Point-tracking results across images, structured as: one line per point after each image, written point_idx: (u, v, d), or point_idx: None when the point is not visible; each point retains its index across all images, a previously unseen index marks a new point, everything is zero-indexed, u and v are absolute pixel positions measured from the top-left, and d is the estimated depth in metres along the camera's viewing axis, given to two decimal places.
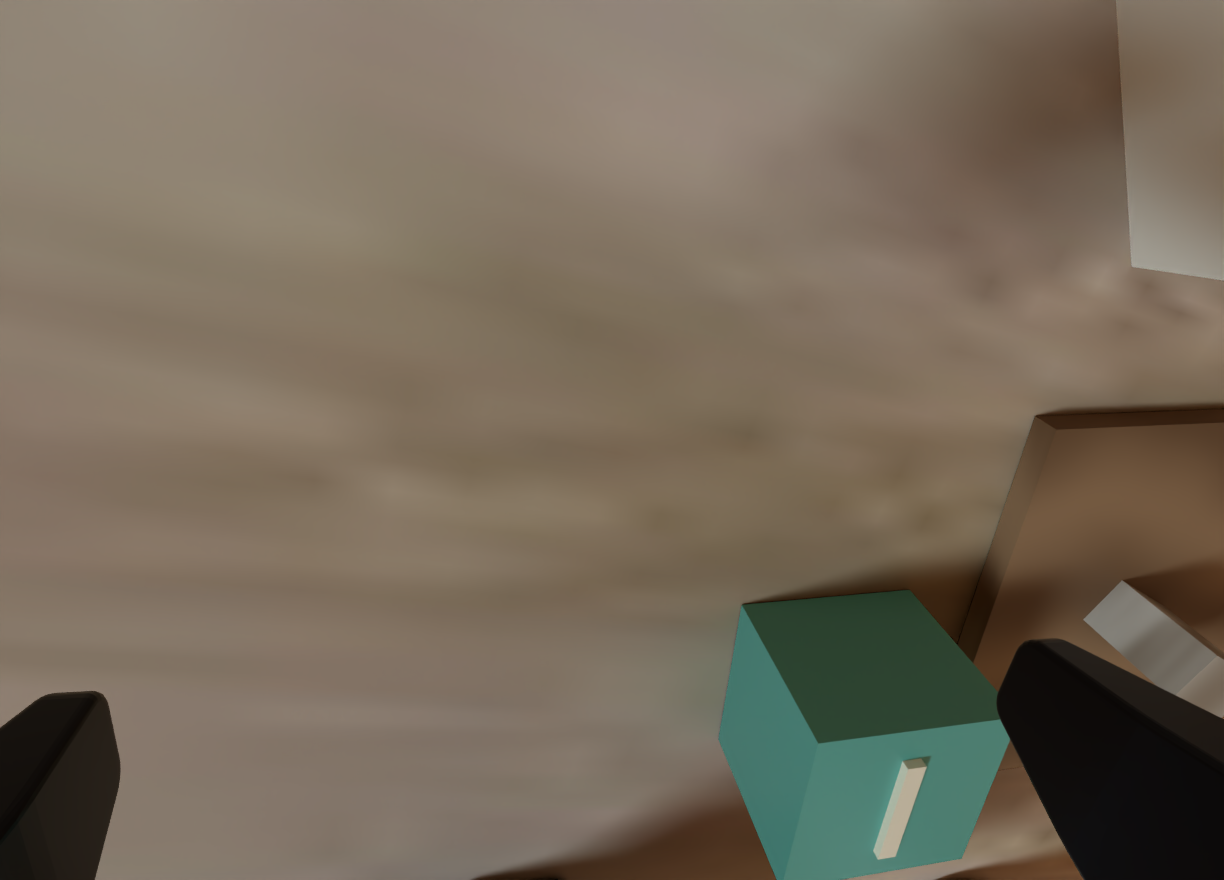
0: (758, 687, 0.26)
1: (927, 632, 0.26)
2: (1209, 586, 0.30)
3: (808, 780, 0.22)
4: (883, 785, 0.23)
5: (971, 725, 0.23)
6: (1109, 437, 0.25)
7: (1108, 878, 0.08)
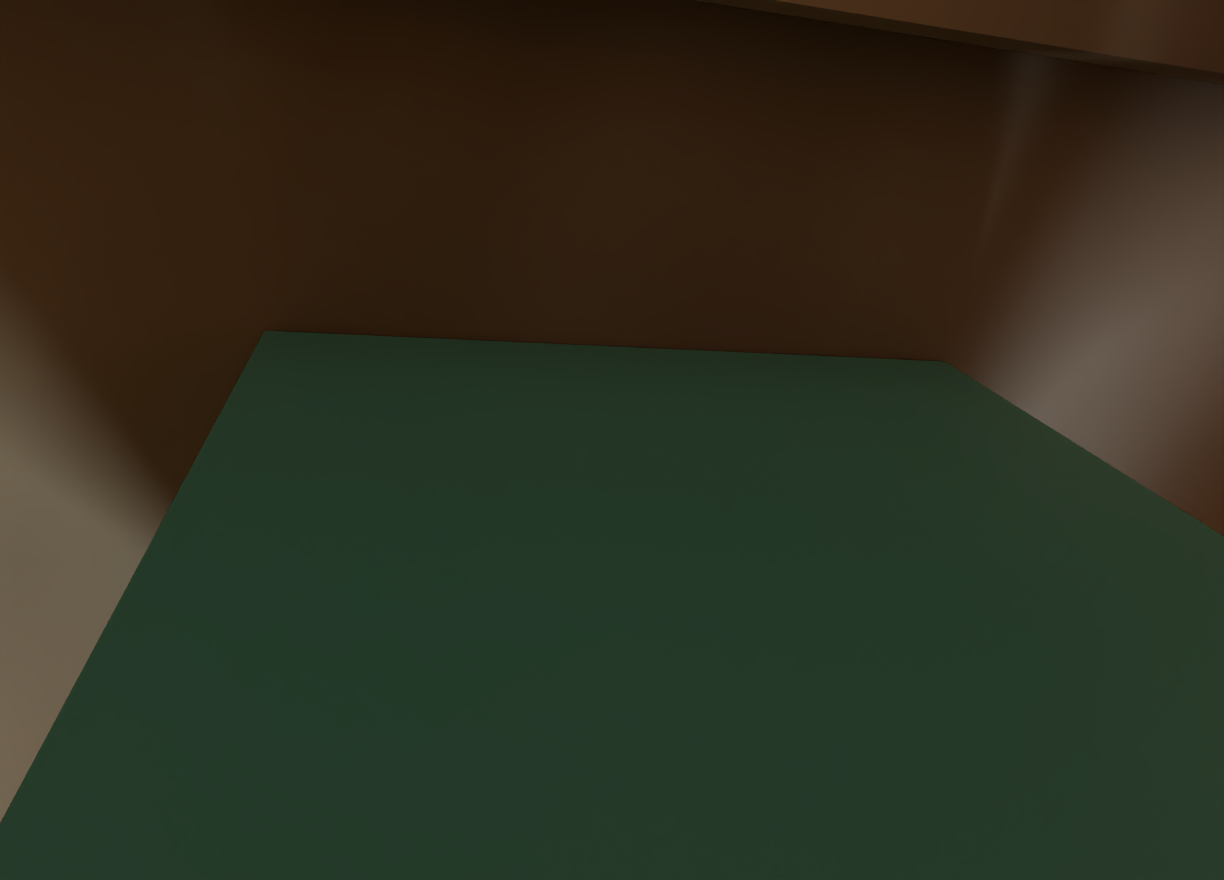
0: None
1: None
2: None
3: None
4: None
5: None
6: None
7: None
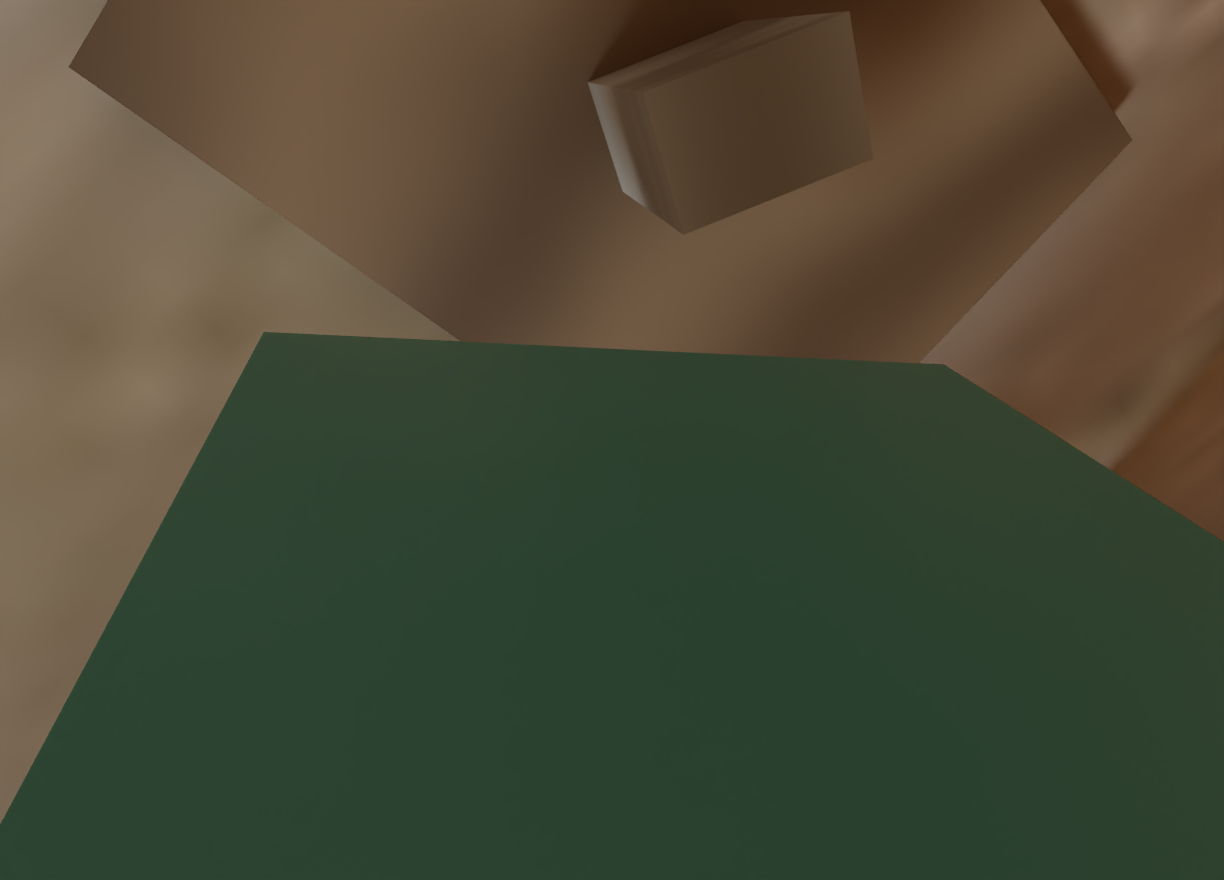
0: None
1: None
2: None
3: None
4: None
5: None
6: None
7: None
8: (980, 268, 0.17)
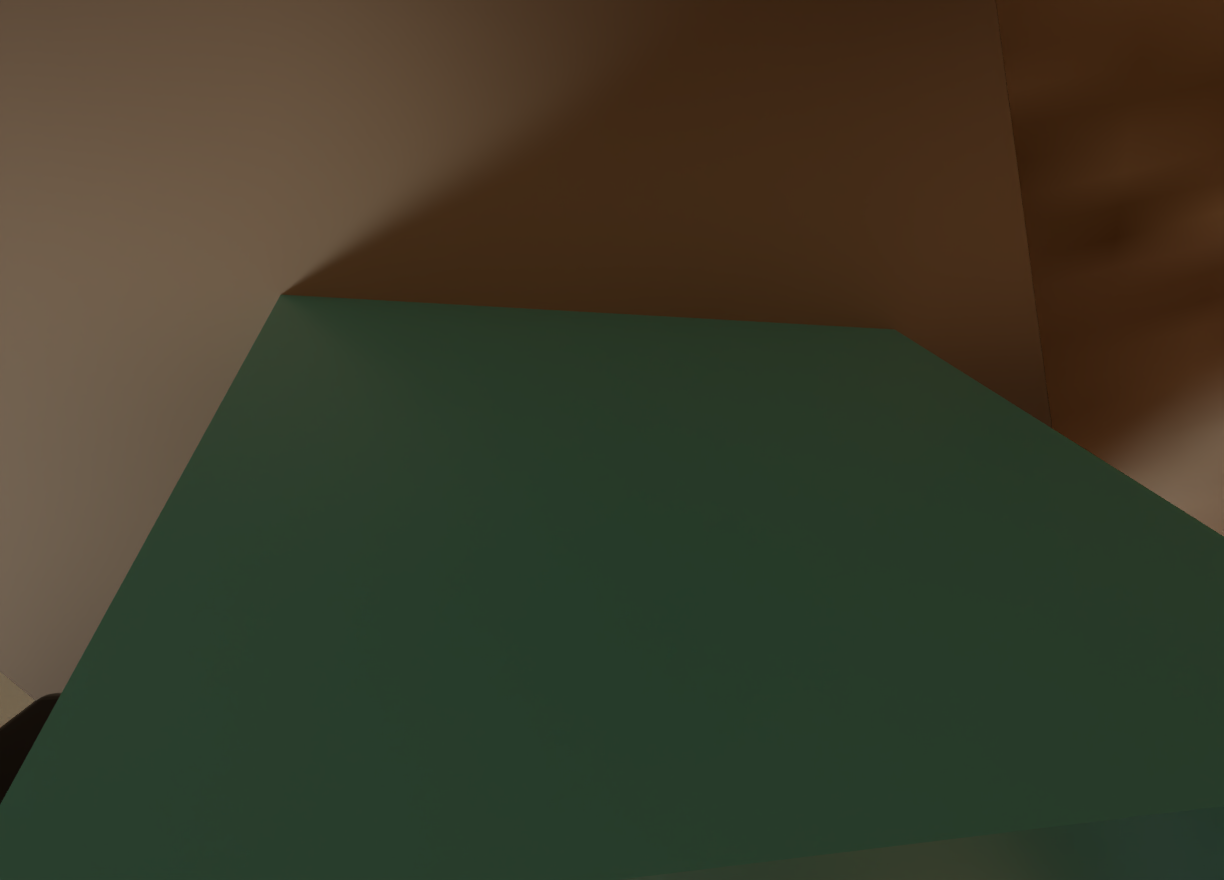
0: None
1: None
2: None
3: None
4: None
5: None
6: None
7: None
8: None
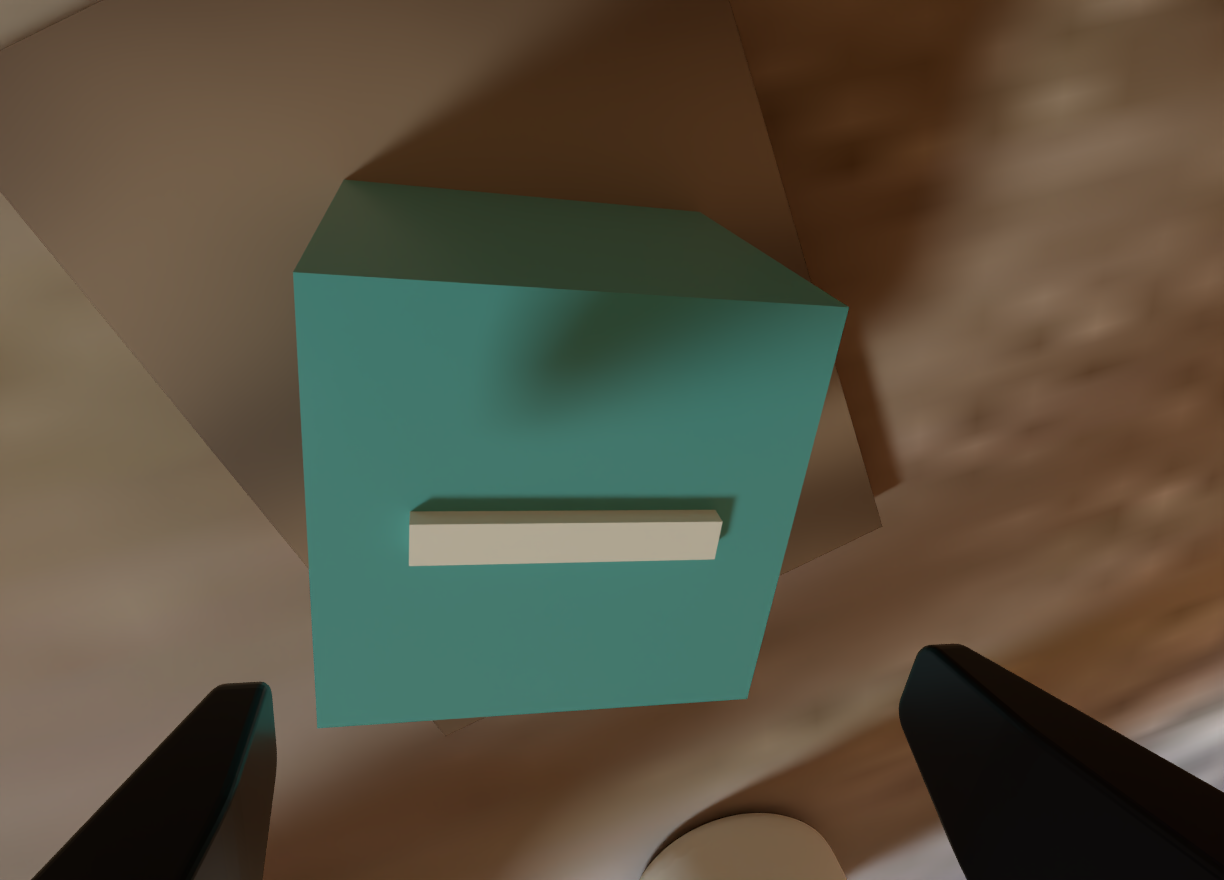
0: None
1: None
2: None
3: (427, 719, 0.11)
4: (484, 574, 0.10)
5: (308, 411, 0.09)
6: (66, 52, 0.12)
7: None
8: None
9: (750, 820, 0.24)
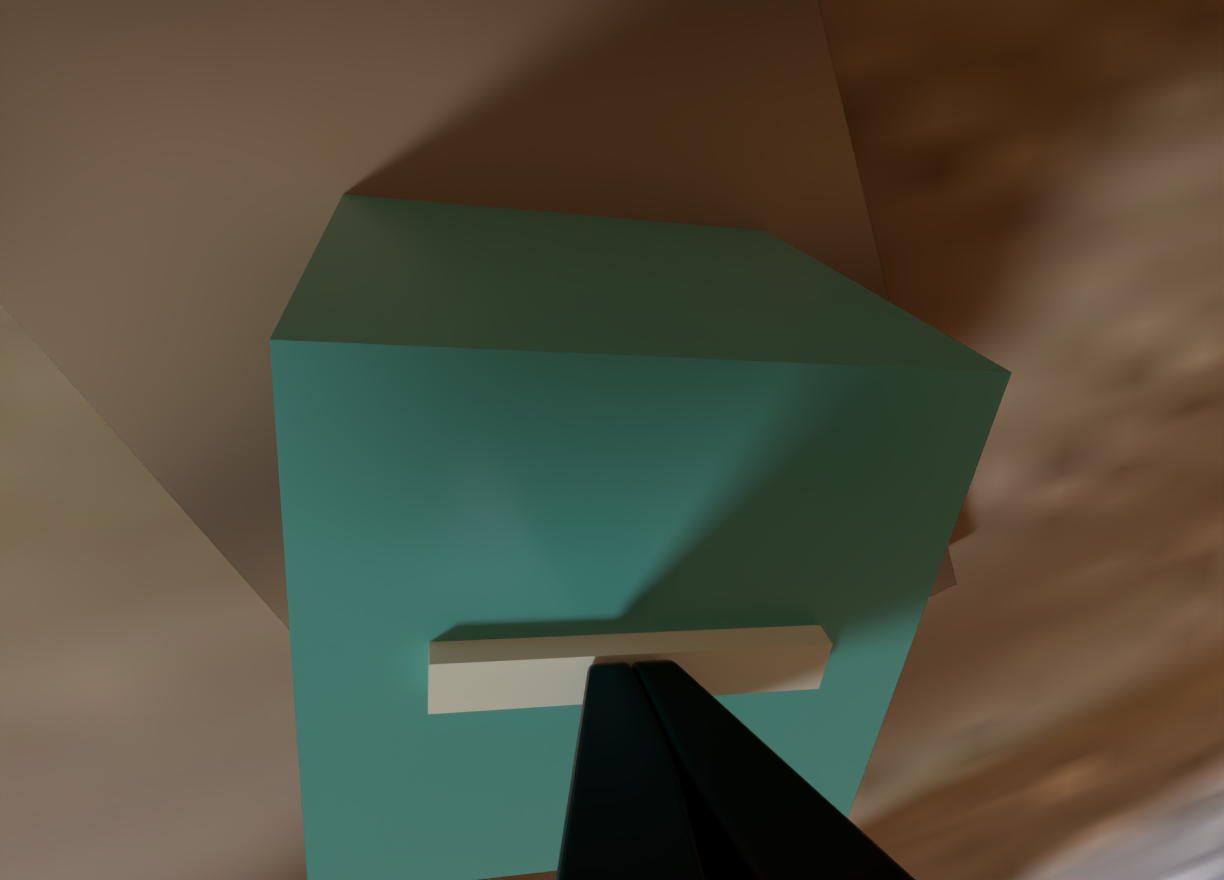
0: None
1: None
2: None
3: None
4: (524, 713, 0.08)
5: (293, 522, 0.06)
6: None
7: None
8: None
9: None
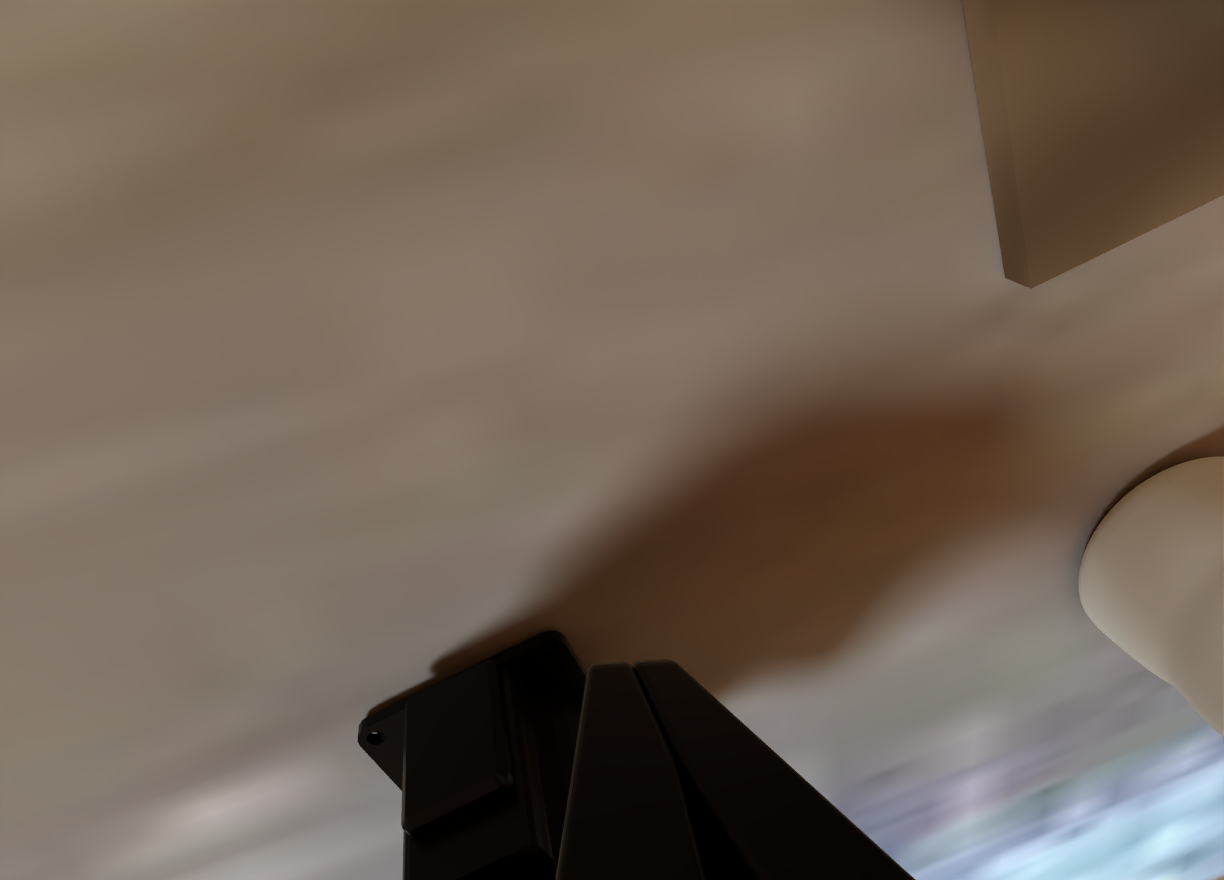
0: None
1: None
2: None
3: None
4: None
5: None
6: None
7: None
8: None
9: (1222, 457, 0.24)
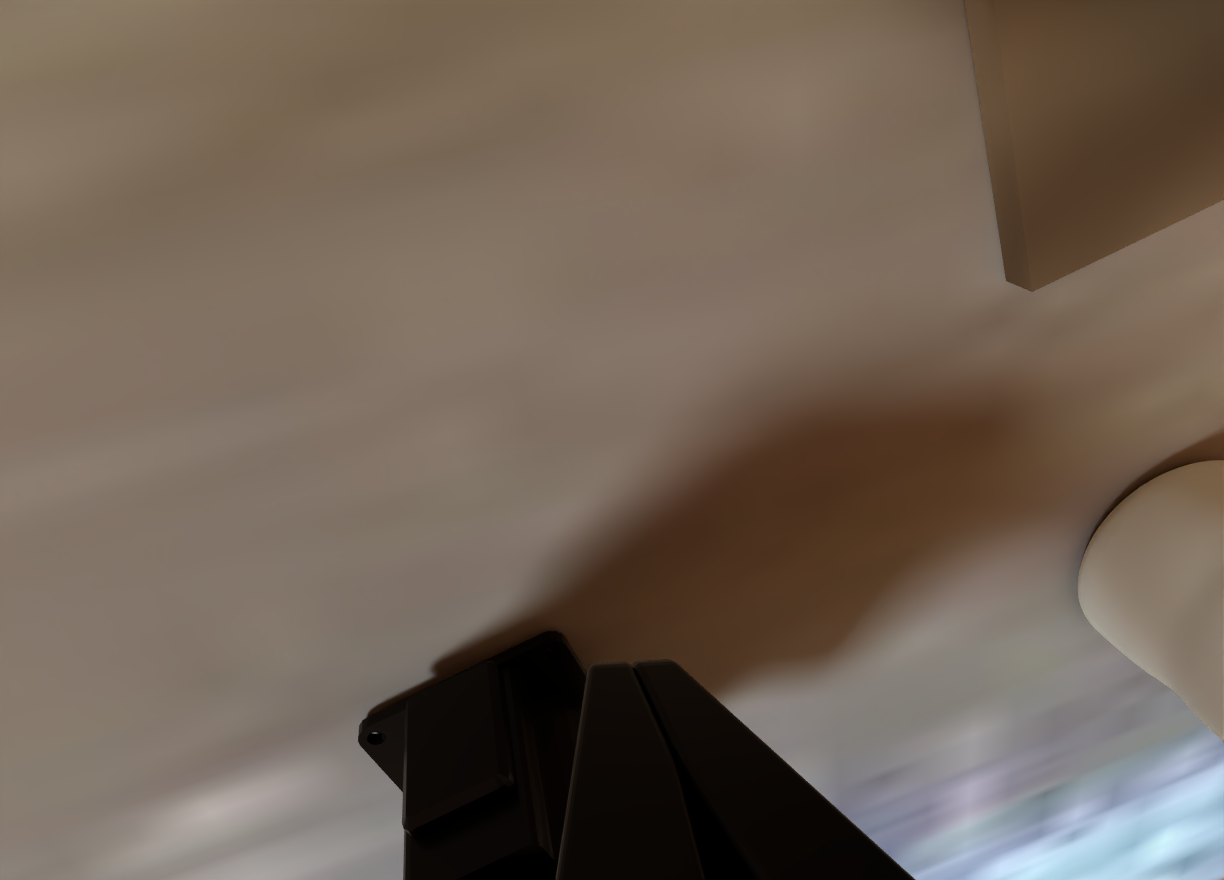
0: None
1: None
2: None
3: None
4: None
5: None
6: None
7: None
8: None
9: (1222, 460, 0.24)
